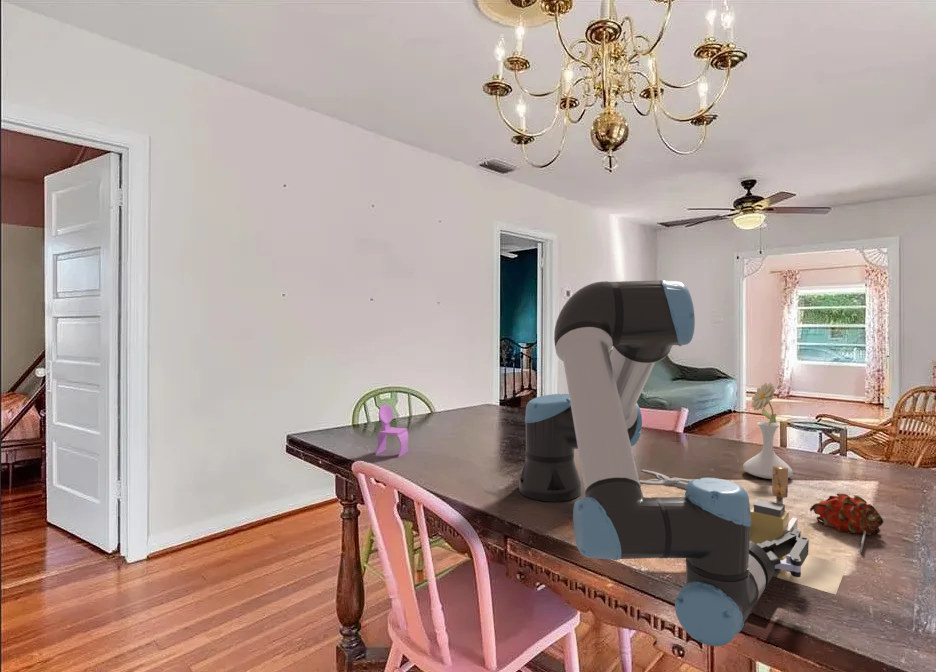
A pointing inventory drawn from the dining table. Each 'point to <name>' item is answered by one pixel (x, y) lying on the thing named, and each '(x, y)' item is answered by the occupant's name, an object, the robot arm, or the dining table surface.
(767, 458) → the flower in vase
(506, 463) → the dining table surface
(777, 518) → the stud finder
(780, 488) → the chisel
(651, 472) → the pliers
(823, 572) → the plank
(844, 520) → the dragon fruit
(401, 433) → the toy chair
